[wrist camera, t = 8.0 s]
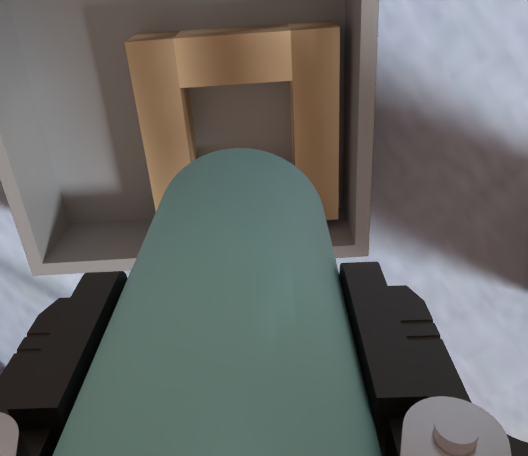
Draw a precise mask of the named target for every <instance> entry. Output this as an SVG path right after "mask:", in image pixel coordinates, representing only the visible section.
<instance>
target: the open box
mask: <svg viewBox="0 0 528 456" xmlns="http://www.w3.org/2000/svg"><path fill="white" fill-rule="evenodd" d="M378 13H379V0H0V180H1V183H2V186H3V189H4V192H5V195H6V198H7V201H8V204H9V207H10V210H11V213H12V216H13V219H14V222H15V225H16V228H17V231H18V233H19V236H20V239H21V242H22V245H23V248H24V251H25V254H26V257H27V260H28V263H29V266H30V269H31V272H32V275H33V276H39V275H56V274H73V273H87V272H107V271H124V270H132V267H133V265H134V263H135V260H136V258H137V256H138V253H139V251H140V248H141V246H142V244H143V241H144V239H145V237H146V234H147V232H148V230H149V227H150V225H151V223H152V220H153V218H154V215H155V213H156V210H155V205H154V199H153V194H152V188H151V183H150V178H149V172H148V167H147V161H146V156H145V151H144V145H143V140H142V134H141V129H140V124H139V118H138V113H137V107H136V102H135V97H134V91H133V86H132V80H131V75H130V70H129V64H128V59H127V53H126V48H125V43H124V42H125V41H127V40H128V39H130V38H131V37H133V36H134V35H136V34H140V33H155V32H169V31H184V30H198V29H213V28H227V27H242V26H256V25H271V24H285V23H300V22H314V21H329V20H333V21H334V22H335V23H336V24H337V25H338V26H339V27H340V78H339V207H338V219H336V220H326V221H327V225H328V230H329V234H330V238H331V242H332V247H333V251H334V255H335V258H345V257H362V256H368V255H369V231H370V207H371V182H372V158H373V134H374V110H375V86H376V61H377V37H378ZM189 95H190V103H191V110H192V118H193V125H194V133H195V140H196V148H197V155H198V158H199V157H201V156H203V155H206V154H209V153H211V152H215V151H219V150H223V149H231V148H250V149H256V150H261V151H265V152H269V153H272V154H274V155H277V156H279V157H281V158H283V159H285V160H287V161H288V162H290V163H292V164H293V152H292V126H291V100H290V81H280V82H265V83H250V84H235V85H220V86H205V87H189Z"/></svg>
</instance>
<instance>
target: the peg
mask: <svg viewBox="0 0 528 456" xmlns="http://www.w3.org/2000/svg"><path fill="white" fill-rule="evenodd" d="M53 456H382V454H381V450H380V446H379V442H378V437H377V433H376V429H375V425H374V420H373V416H372V412H371V408H370V403H369V399H368V395H367V391H366V386H365V382H364V378H363V374H362V370H361V365H360V361H359V357H358V353H357V348H356V344H355V340H354V336H353V331H352V327H351V323H350V319H349V314H348V310H347V306H346V302H345V297H344V293H343V289H342V285H341V281H340V276H339V272H338V268H337V264H336V259H335V255H334V251H333V247H332V242H331V238H330V234H329V230H328V225H327V221H326V217H325V213H324V208H323V205H322V202H321V199H320V196H319V194H318V192H317V191H316V189H315V187H314V185H313V184H312V183H311V181H310V180H309V179H308V178H307V177H306V176H305V174H304V173H303V172H302V171H301V170H299V169H298V168H297V167H295V166H294V165H293V164H292V163H290V162H288V161H287V160H285V159H283V158H281V157H279V156H277V155H274V154H272V153H269V152H265V151H261V150H256V149H250V148H231V149H223V150H219V151H215V152H211V153H209V154H206V155H203V156H201V157H199V158H197V159H196V160H194V161H192V162H191V163H189V164H188V165H187V166H185V167H184V168H183V169H182V170H181V171H180V172H179V173H177V174H176V175H175V177H174V178H173V179H172V181H171V182H170V183H169V185H168V187H167V188H166V190H165V192H164V194H163V197H162V199H161V201H160V204H159V206H158V208H157V211H156V213H155V215H154V218H153V220H152V223H151V225H150V227H149V230H148V232H147V234H146V237H145V239H144V241H143V244H142V246H141V248H140V251H139V253H138V256H137V258H136V260H135V263H134V265H133V267H132V270H131V272H130V274H129V277H128V279H127V281H126V284H125V286H124V288H123V291H122V293H121V296H120V298H119V300H118V303H117V305H116V307H115V310H114V312H113V314H112V317H111V319H110V321H109V324H108V326H107V329H106V331H105V333H104V336H103V338H102V340H101V343H100V345H99V347H98V350H97V352H96V354H95V357H94V359H93V361H92V364H91V366H90V369H89V371H88V373H87V376H86V378H85V380H84V383H83V385H82V387H81V390H80V392H79V394H78V397H77V399H76V402H75V404H74V406H73V409H72V411H71V413H70V416H69V418H68V420H67V423H66V425H65V427H64V430H63V432H62V434H61V437H60V439H59V442H58V444H57V446H56V449H55V451H54V453H53Z"/></svg>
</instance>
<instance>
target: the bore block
mask: <svg viewBox="0 0 528 456" xmlns="http://www.w3.org/2000/svg"><path fill="white" fill-rule="evenodd" d="M124 43H125V48H126V53H127V59H128V64H129V70H130V75H131V80H132V86H133V91H134V97H135V102H136V107H137V113H138V118H139V124H140V129H141V134H142V140H143V145H144V151H145V156H146V161H147V167H148V172H149V178H150V183H151V188H152V194H153V199H154V205H155V210H156V211H157V208H158V206H159V204H160V201H161V199H162V197H163V194H164V192H165V190H166V188H167V187H168V185H169V183H170V182H171V181H172V179H173V178H174V177H175V175H176V174H177V173H179V172H180V171H181V170H182V169H183V168H184V167H185V166H187V165H188V164H189V163H191V162H192V161H194V160H196V159H197V158H198V155H197V148H196V140H195V133H194V125H193V118H192V110H191V103H190V95H189V87H205V86H220V85H235V84H250V83H265V82H280V81H290V100H291V126H292V152H293V165H294V166H295V167H297V168H298V169H299V170H301V171H302V172H303V173H304V174H305V176H306V177H307V178H308V179H309V180H310V181H311V183H312V184H313V185H314V187H315V189H316V191H317V192H318V194H319V196H320V199H321V202H322V205H323V208H324V213H325V217H326V220H336V219H338V207H339V78H340V27H339V26H338V25H337V24H336V23H335V22H334V21H333V20H329V21H314V22H300V23H285V24H271V25H256V26H242V27H227V28H213V29H198V30H184V31H169V32H155V33H140V34H136V35H134V36H133V37H131V38H130V39H128V40H127V41H125V42H124Z"/></svg>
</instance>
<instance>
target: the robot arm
mask: <svg viewBox="0 0 528 456" xmlns="http://www.w3.org/2000/svg"><path fill="white" fill-rule="evenodd" d="M339 276H340V281H341V285H342V289H343V293H344V297H345V302H346V306H347V310H348V314H349V319H350V323H351V327H352V331H353V336H354V340H355V344H356V348H357V353H358V357H359V361H360V365H361V370H362V374H363V378H364V382H365V386H366V391H367V395H368V399H369V403H370V408H371V412H372V416H373V420H374V425H375V429H376V433H377V437H378V442H379V446H380V450H381V454H382V456H528V443H527V442H523V441H521V440H518V439H516V438H513V437H511V436H509V435H507V434H506V432H505V431H504V429H503V428H502V426H501V425H500V424H499V422H498V421H497V420H496V419H495V418H494V417H493V416H492V415H490V414H489V413H488V412H487V411H485V410H484V409H482V408H481V407H479V406H477V405H475V404H473V403H472V402H471V400H470V398H469V396H468V394H467V392H466V390H465V388H464V385H463V383H462V381H461V379H460V377H459V375H458V373H457V370H456V368H455V366H454V364H453V362H452V360H451V357H450V355H449V353H448V351H447V349H446V347H445V345H444V342H443V340H442V339H440V334H439V332H438V330H437V327H436V325H435V323H433V319H432V317H431V314H430V312H429V310H428V308H427V306H426V304H425V302H424V300H423V299H421V298H420V297H419V296H418V295H417V294H416V293H414V292H413V291H412V290H411V289H410V288H409V287H407V286H406V285H405V286H387V283H386V281H385V278H384V275H383V273H382V270H381V267H380V265H379V263H378V262H357V263H341V265H340V273H339ZM127 279H128V278H127V276H126V274H125V272H123V271H113V272H87V273H85V274H84V275H83V276H82V278H81V280H80V282H79V283H78V285H77V287H76V289H75V290H74V292H73V294H72V296H71V297H70V298H59V299H57V300H56V301H55V302H54V303H53V304H51V305H50V306H49V307H48V308H46V309H45V310H44V311H43V312H41V313H40V314H39V315H38V317H37V318H36V320H35V322H34V323H33V325H32V326H31V328H30V329H29V331H28V333H27V337H24V339H23V341H22V342H21V344H20V345H19V347H18V349H17V354H14V355H13V357H12V358H11V360H10V361H9V363H8V364H7V366H6V368H5V369H4V371H3V372H2V374H1V376H0V456H53V453H54V451H55V449H56V446H57V444H58V442H59V439H60V437H61V434H62V432H63V430H64V427H65V425H66V423H67V420H68V418H69V416H70V413H71V411H72V409H73V406H74V404H75V402H76V399H77V397H78V394H79V392H80V390H81V387H82V385H83V383H84V380H85V378H86V376H87V373H88V371H89V369H90V366H91V364H92V361H93V359H94V357H95V354H96V352H97V350H98V347H99V345H100V343H101V340H102V338H103V336H104V333H105V331H106V329H107V326H108V324H109V321H110V319H111V317H112V314H113V312H114V310H115V307H116V305H117V303H118V300H119V298H120V296H121V293H122V291H123V288H124V286H125V284H126V281H127Z"/></svg>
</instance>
